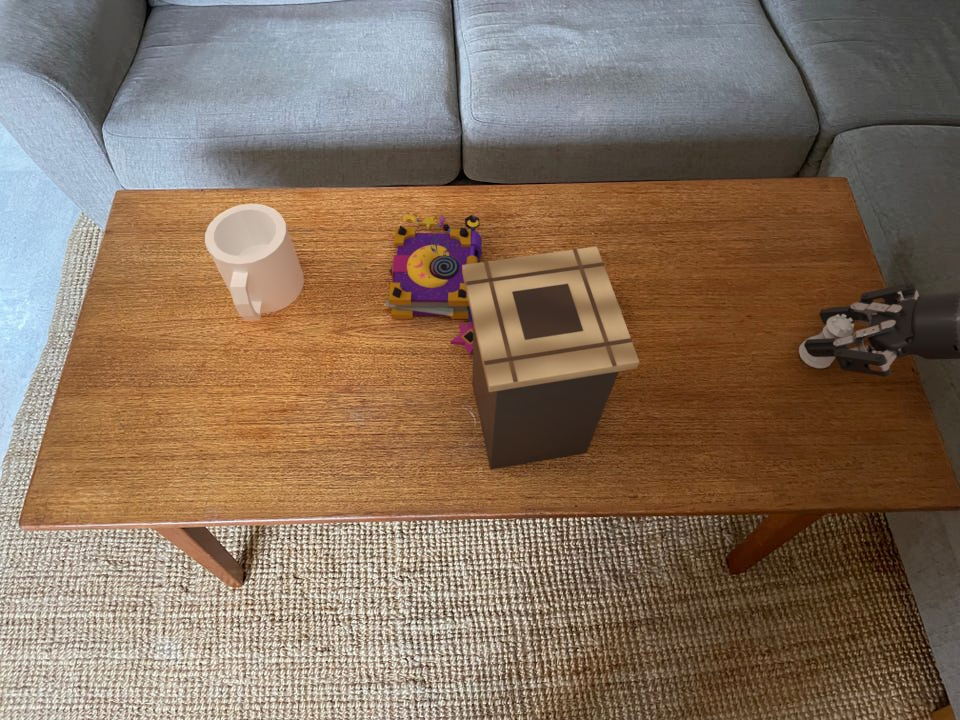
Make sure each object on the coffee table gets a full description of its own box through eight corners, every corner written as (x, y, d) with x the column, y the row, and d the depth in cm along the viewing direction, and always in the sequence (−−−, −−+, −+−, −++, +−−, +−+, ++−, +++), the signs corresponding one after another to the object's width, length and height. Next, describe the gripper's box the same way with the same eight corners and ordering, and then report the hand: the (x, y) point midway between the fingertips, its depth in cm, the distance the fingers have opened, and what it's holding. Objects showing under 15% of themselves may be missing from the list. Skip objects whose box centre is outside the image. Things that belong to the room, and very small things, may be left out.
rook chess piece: (825, 375, 86) (856, 343, 79) (792, 360, 87) (820, 326, 80) (835, 351, 88) (866, 317, 81) (803, 336, 89) (831, 302, 82)
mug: (297, 332, 88) (277, 284, 79) (221, 334, 87) (192, 286, 78) (307, 255, 95) (290, 202, 85) (236, 256, 94) (212, 204, 85)
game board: (636, 368, 60) (640, 361, 59) (488, 392, 59) (489, 385, 57) (595, 253, 67) (597, 245, 66) (462, 272, 66) (462, 264, 64)
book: (489, 223, 98) (492, 161, 88) (489, 365, 86) (492, 312, 75) (393, 222, 98) (384, 159, 88) (378, 363, 85) (366, 310, 75)
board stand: (586, 453, 79) (623, 361, 60) (490, 469, 78) (497, 381, 59) (561, 369, 85) (588, 262, 67) (472, 383, 84) (473, 278, 65)
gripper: (978, 255, 72) (822, 274, 86) (946, 345, 66) (783, 350, 79) (995, 305, 75) (842, 316, 89) (965, 396, 69) (806, 392, 83)
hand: (815, 332), depth 84 cm, fingers open, 5 cm apart
